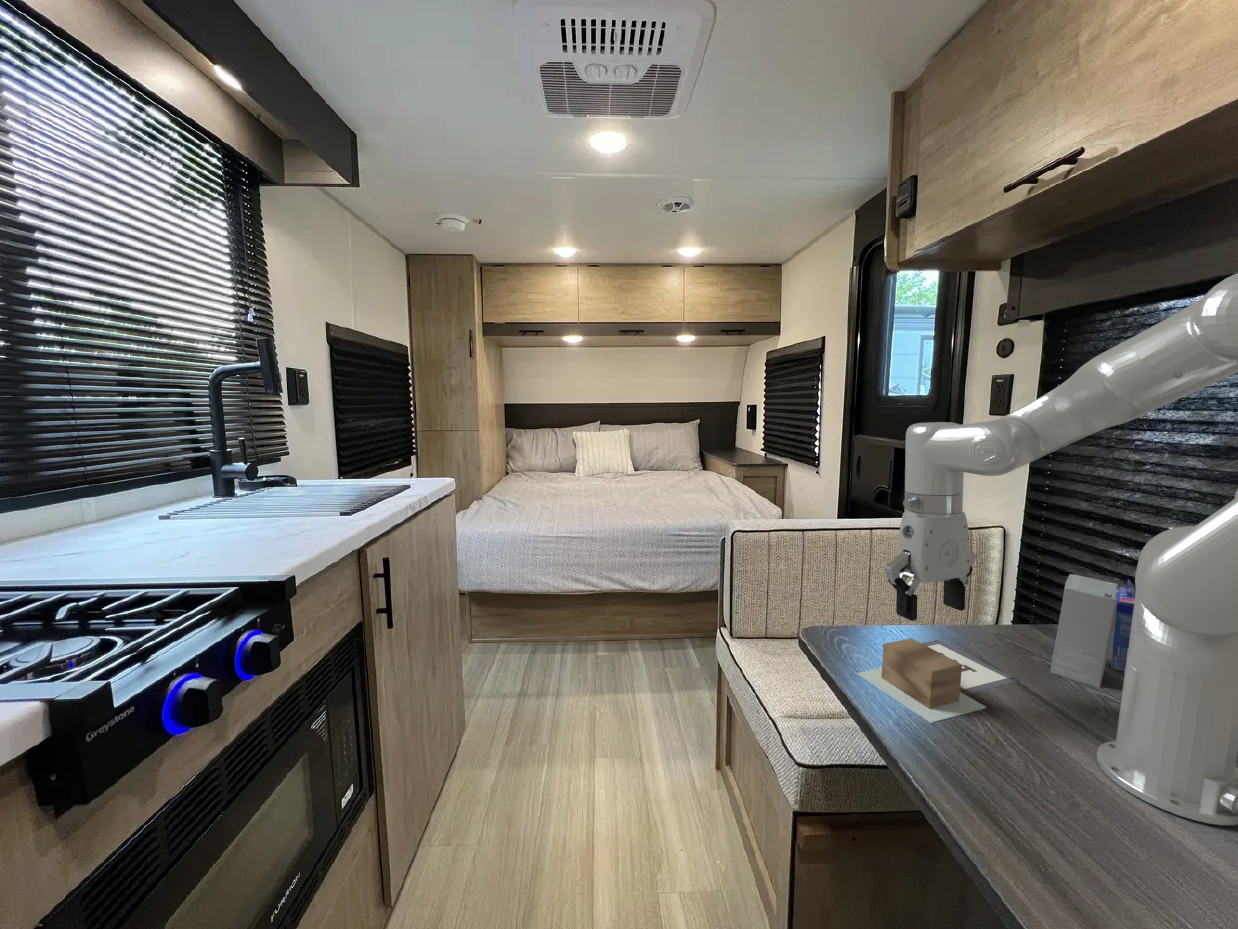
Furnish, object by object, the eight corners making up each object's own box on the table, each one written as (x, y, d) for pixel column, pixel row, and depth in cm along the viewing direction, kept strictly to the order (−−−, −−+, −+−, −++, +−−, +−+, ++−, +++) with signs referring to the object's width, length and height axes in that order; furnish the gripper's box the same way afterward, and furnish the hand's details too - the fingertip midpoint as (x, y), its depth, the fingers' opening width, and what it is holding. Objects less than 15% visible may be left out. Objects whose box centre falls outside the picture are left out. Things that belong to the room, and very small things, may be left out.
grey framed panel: (1019, 686, 84) (1019, 680, 84) (966, 700, 80) (966, 694, 80) (937, 645, 98) (937, 639, 98) (888, 655, 94) (888, 650, 94)
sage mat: (985, 713, 77) (986, 707, 77) (930, 728, 73) (931, 722, 73) (907, 667, 90) (907, 661, 90) (857, 678, 87) (857, 673, 86)
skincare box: (1054, 656, 92) (1063, 571, 90) (1109, 671, 87) (1120, 581, 85) (1048, 674, 86) (1058, 584, 84) (1106, 691, 81) (1119, 596, 79)
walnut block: (959, 701, 78) (962, 664, 77) (929, 708, 76) (932, 671, 76) (909, 671, 87) (911, 638, 86) (881, 677, 85) (883, 643, 84)
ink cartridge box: (1110, 648, 95) (1119, 573, 93) (1153, 658, 91) (1164, 580, 89) (1108, 668, 88) (1118, 587, 86) (1154, 680, 84) (1166, 596, 82)
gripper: (910, 513, 71) (908, 631, 73) (998, 502, 77) (994, 612, 78) (868, 505, 78) (867, 612, 80) (952, 495, 84) (949, 596, 85)
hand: (930, 612), depth 79 cm, fingers open, 9 cm apart
